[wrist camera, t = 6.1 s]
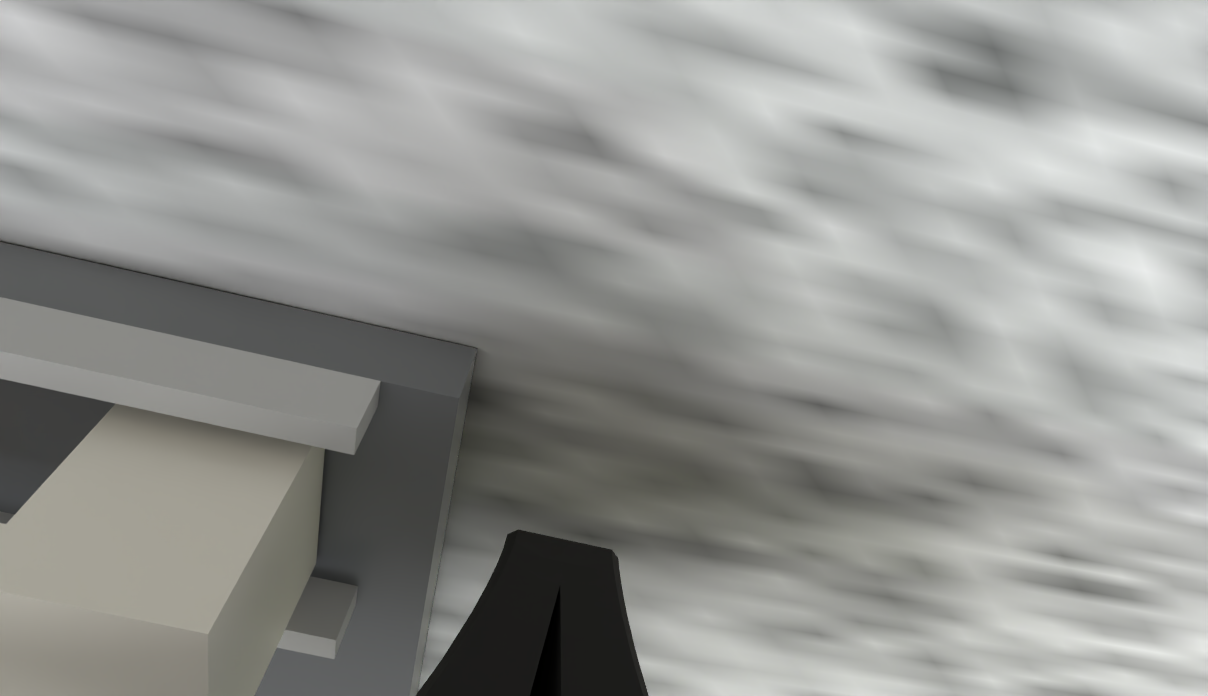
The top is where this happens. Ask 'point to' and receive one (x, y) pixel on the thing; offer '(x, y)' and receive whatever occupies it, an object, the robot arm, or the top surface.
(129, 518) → the latch
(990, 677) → the top surface
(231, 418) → the mount board
